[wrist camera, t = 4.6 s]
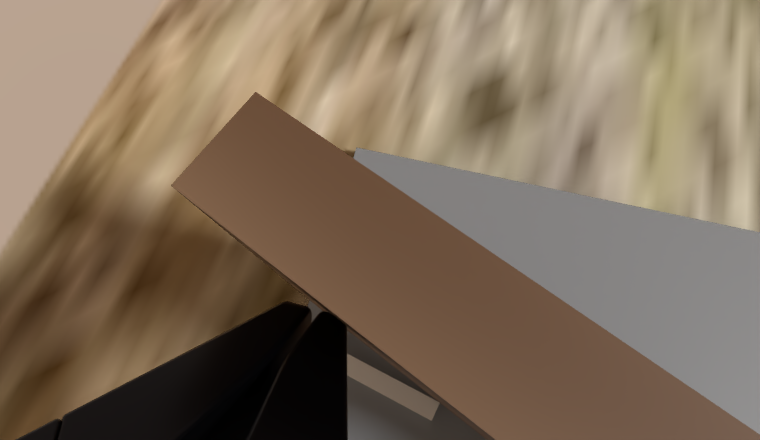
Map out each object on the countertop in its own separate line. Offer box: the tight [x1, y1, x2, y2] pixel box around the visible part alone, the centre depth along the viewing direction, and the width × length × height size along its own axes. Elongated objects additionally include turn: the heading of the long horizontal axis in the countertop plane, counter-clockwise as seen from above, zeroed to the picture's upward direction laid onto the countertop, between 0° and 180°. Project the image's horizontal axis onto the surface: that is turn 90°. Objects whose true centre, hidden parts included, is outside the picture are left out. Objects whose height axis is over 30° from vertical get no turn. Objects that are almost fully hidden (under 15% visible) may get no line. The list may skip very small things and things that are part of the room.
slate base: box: [308, 148, 760, 440], centre depth 14 cm, size 14×12×1 cm
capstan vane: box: [171, 92, 760, 440], centre depth 9 cm, size 4×12×9 cm, turn 53°
